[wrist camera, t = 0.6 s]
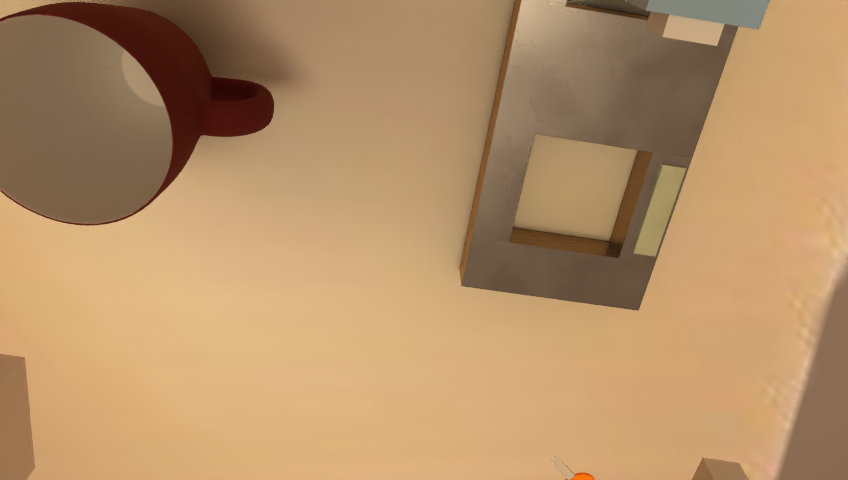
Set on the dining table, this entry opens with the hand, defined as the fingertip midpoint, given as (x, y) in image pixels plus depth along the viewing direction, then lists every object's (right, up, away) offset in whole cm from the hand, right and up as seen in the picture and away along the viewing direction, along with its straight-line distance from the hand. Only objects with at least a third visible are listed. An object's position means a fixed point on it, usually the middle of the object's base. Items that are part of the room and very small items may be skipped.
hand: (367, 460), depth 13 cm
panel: (+10, +13, +20) cm, 26 cm away
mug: (-11, +13, +20) cm, 26 cm away
